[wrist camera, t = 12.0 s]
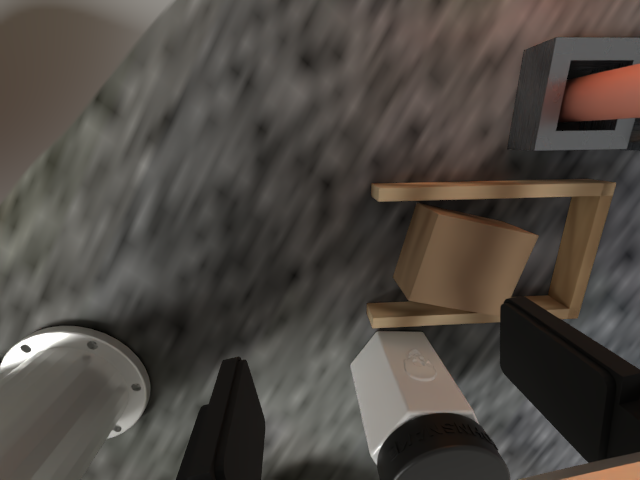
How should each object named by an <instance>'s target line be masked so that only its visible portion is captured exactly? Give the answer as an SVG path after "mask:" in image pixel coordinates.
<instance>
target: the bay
mask: <svg viewBox="0 0 640 480" xmlns="http://www.w3.org/2000/svg"><path fill="white" fill-rule="evenodd" d="M615 186H616V182H608V181H601V180H594V179H551V180H507V181H463V182H419V183H376V184H371V196H372V197H373V198H374V199H376V200H377V201H378V202H384V201H422V200H460V199H499V198H537V197H572V198H571V202H570V207H569V211H568V215H567V219H566V223H565V227H564V231H563V235H562V239H561V243H560V247H559V252H558V256H557V260H556V264H555V268H554V272H553V276H552V280H551V284H550V288H549V292H548V295H542V296H524V297H526V298H528V299H529V300H531V301H533V302H534V303H536V304H537V305H539V306H540V307H542V308H544V309H545V310H547V311H548V312H550V313H551V314H553V315H555V316H556V317H558V318H559V319H574V318H578V315H579V312H580V308H581V305H582V301H583V298H584V294H585V291H586V287H587V284H588V280H589V277H590V273H591V270H592V266H593V263H594V259H595V256H596V252H597V249H598V245H599V242H600V238H601V235H602V231H603V228H604V224H605V221H606V217H607V214H608V210H609V207H610V203H611V200H612V196H613V193H614V189H615ZM511 298H513V297H511ZM367 315H368V318H369V320H370V323H371V326H372V328H390V327H410V326H431V325H451V324H472V323H492V322H500V317H499V316H493V315H487V314H481V313H476V312H470V311H464V310H459V309H453V308H447V307H442V306H436V305H430V304H424V303H419V302H413V301H407V302H385V303H367Z"/></svg>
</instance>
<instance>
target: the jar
mask: <svg viewBox="0 0 640 480" xmlns="http://www.w3.org/2000/svg"><path fill="white" fill-rule="evenodd" d="M350 367H351V371H352V376H353V380H354V385H355V389H356V394H357V398H358V403H359V407H360V412H361V416H362V421H363V425H364V430H365V434H366V439H367V443H368V448H369V452H370V456H371V457H372V459H373V460H374V462H375V463H376V465H377V469H378V473H379V477H380V480H510V473H509V470H508V467H507V465H506V464H505V462H504V460H503V459H502V457H501V456H500V454H499V453H498V451H497V450H498V449H497V447H496V446H495V444H494V442H493V441H492V439H490V437H489V436H488V435H487V434H486V432H485V431H484V429H483V428H482V427H481V426H480V424H479V422H478V420H477V418H476V415H475V413H474V411H473V409H472V408H471V406H470V405H469V403H468V402H467V400H466V398H465V397H464V395H463V394H462V392H461V391H460V389H459V387H458V386H457V384H456V383H455V381H454V380H453V378H452V377H451V375H450V373H449V372H448V370H447V369H446V367H445V366H444V364H443V362H442V361H441V359H440V358H439V356H438V355H437V353H436V352H435V350H434V348H433V347H432V345H431V344H430V342H429V341H428V339H427V337H426V336H425V334H424V333H423V332H410V331H377V332H376V333H375V334H374V335H373V337H372V338H371V339H370V340H369V342H368V343H367V344H366V345H365V347H364V348H363V349H362V350H361V352H360V353H359V354H358V355H357V357H356V358H355V359H354V360H353V362H352V363H351V365H350Z"/></svg>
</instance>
